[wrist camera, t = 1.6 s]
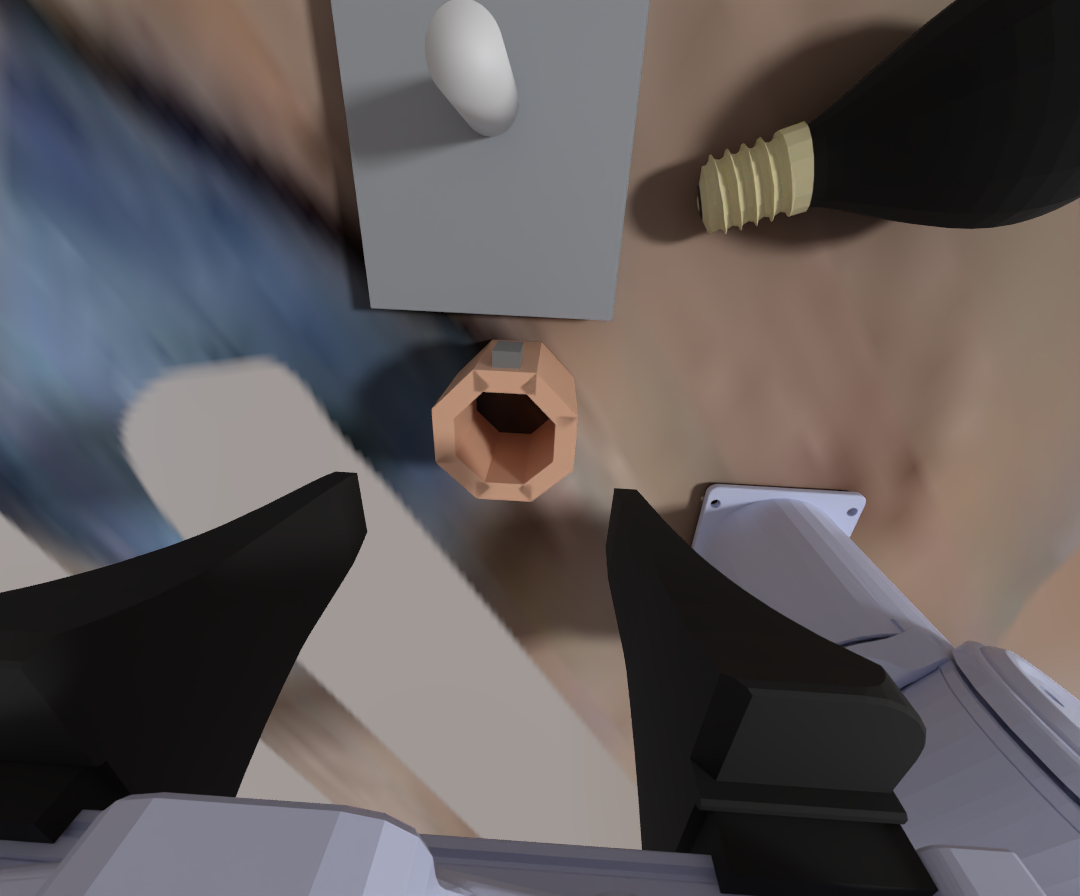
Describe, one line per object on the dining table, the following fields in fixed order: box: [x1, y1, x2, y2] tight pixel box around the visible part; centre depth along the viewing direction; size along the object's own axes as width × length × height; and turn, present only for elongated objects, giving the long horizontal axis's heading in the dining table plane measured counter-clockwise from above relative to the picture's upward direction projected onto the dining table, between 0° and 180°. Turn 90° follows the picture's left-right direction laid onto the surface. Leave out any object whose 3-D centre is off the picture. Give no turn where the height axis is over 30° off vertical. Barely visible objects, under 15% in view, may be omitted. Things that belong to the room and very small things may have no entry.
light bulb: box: [697, 0, 1080, 235], centre depth 13 cm, size 7×7×12 cm
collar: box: [432, 340, 578, 502], centre depth 18 cm, size 6×5×5 cm
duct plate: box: [331, 0, 650, 321], centre depth 13 cm, size 14×10×5 cm
